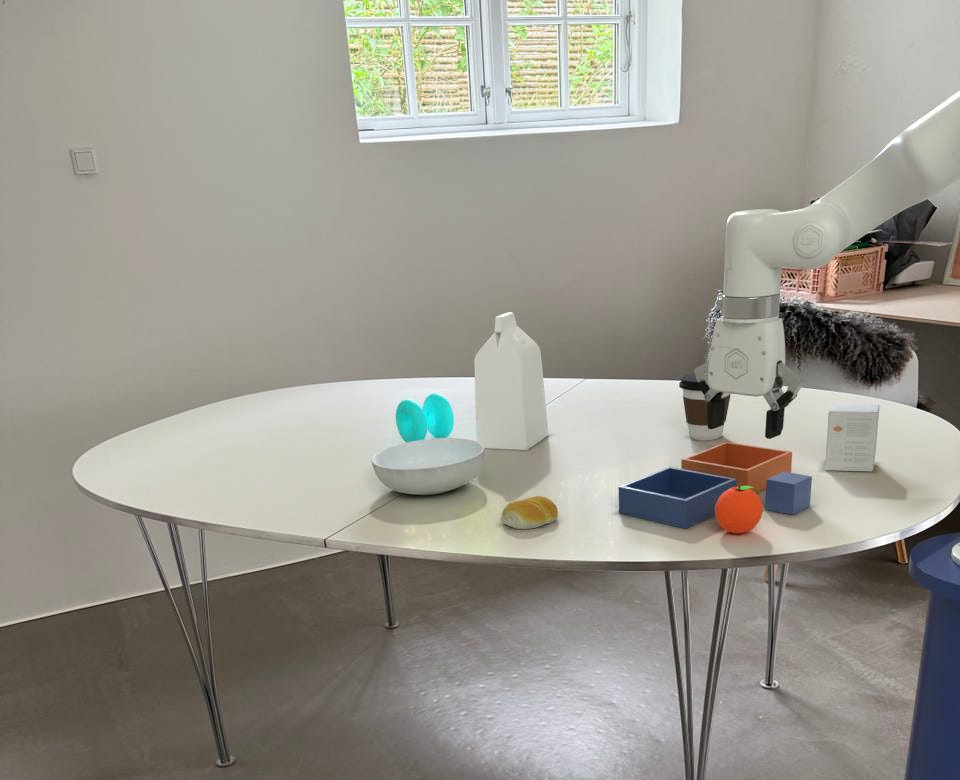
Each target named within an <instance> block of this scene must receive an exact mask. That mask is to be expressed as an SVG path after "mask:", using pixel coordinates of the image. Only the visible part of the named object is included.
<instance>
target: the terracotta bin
mask: <svg viewBox="0 0 960 780" xmlns="http://www.w3.org/2000/svg"><path fill="white" fill-rule="evenodd" d="M680 461H681V463H680V464H681V465H680V466H681V467H680V469H685V470H690V471H696V472H701V473H707V474H712V475H718V476H723V477H729V478H734V479H737V487H739V486H740V487H741V486H751V487H754V488H749V489H751V490H752V491H754V492H755V493H756V494H757V493H759V492H758V491H757V490H756V489H755V488H757V489H758V490H759V491H760V492H761V491H763V490H766V481H767V479H769V478H771V477H773V476H775V475H777V474H780V473H782V472H789V473H792V465H793V464H792V463H793V451H790V450H783V449H778V448H769V447H763V446H757V445H750V444H744V443H737V442H729V441H725V442H722V443H719V444H717V445H713V446H712V447H710V448H707V449H705V450H702V451H699V452H697V453H694V454H692V455H688V456H686V457H684V458H682V459H681V460H680Z"/></svg>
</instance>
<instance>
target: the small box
mask: <svg viewBox="0 0 960 780" xmlns="http://www.w3.org/2000/svg"><path fill="white" fill-rule="evenodd" d="M879 415H880V404H879V403H872V404H871V403H870V404H869V403H867V404H866V403H865V404H863V403H862V404H861V403H860V404H859V403H855V404H854V403H851V404H850V403H849V404H848V403H835V404H832V405H831V406H830V409H829V411H828V415H827V416H828V417H827V418H828V419H827V431H826V447H825V460H824V461H825V463H824V470H825V471H838V472H841V471H843V472H873V471H874V466H875V462H876V453H877V443H878V431H879V430H878V429H879V419H880V416H879Z"/></svg>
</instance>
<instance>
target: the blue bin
mask: <svg viewBox="0 0 960 780" xmlns="http://www.w3.org/2000/svg"><path fill="white" fill-rule="evenodd" d="M733 487H737V479H734V478H729V477H723V476H718V475H712V474H707V473H701V472H696V471H690V470H685V469H681V468H678V467H674V466H673V467H672V466H668V467H665V468H662V469H660V470H657V471H655V472H653V473H650V474H648V475H644V476H643V477H640V478H637V479H635V480H633V481H629V482H627V483H625V484H622V485H619V486H618V514H621V515H625V516H629V517H633V518H637V519H638V518H639V519H643V520H646V521H651V522H656V523H659V524H664V525H668V526H671V527H676V528H681V529H689V528H691V527H693V526H695V525H697V524H700V523H702V522H703V521H705V520H708V519H710V518H712V517H715V506H716V503H717V501H718V499H719V497H720V496H721V495H722V494H723V493H724V492H725V491H727V490H728V489H730V488H733Z"/></svg>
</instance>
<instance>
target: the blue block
mask: <svg viewBox="0 0 960 780" xmlns="http://www.w3.org/2000/svg"><path fill="white" fill-rule="evenodd" d="M812 481H813V476H812V475H808V474H807V475H806V474H801V473H795V472H791V473H789V472H782V473H780V474H777V475H775V476H773V477H771V478H769V479H767V481H766V489H765V502H764V510H766V511H770V512H776V513H781V514H784V515H785V514H786V515H791V516H794V515H796V514H798V513H800V512H802V511H804V510H806V509H808V508H810V507H811V496H812Z"/></svg>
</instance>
